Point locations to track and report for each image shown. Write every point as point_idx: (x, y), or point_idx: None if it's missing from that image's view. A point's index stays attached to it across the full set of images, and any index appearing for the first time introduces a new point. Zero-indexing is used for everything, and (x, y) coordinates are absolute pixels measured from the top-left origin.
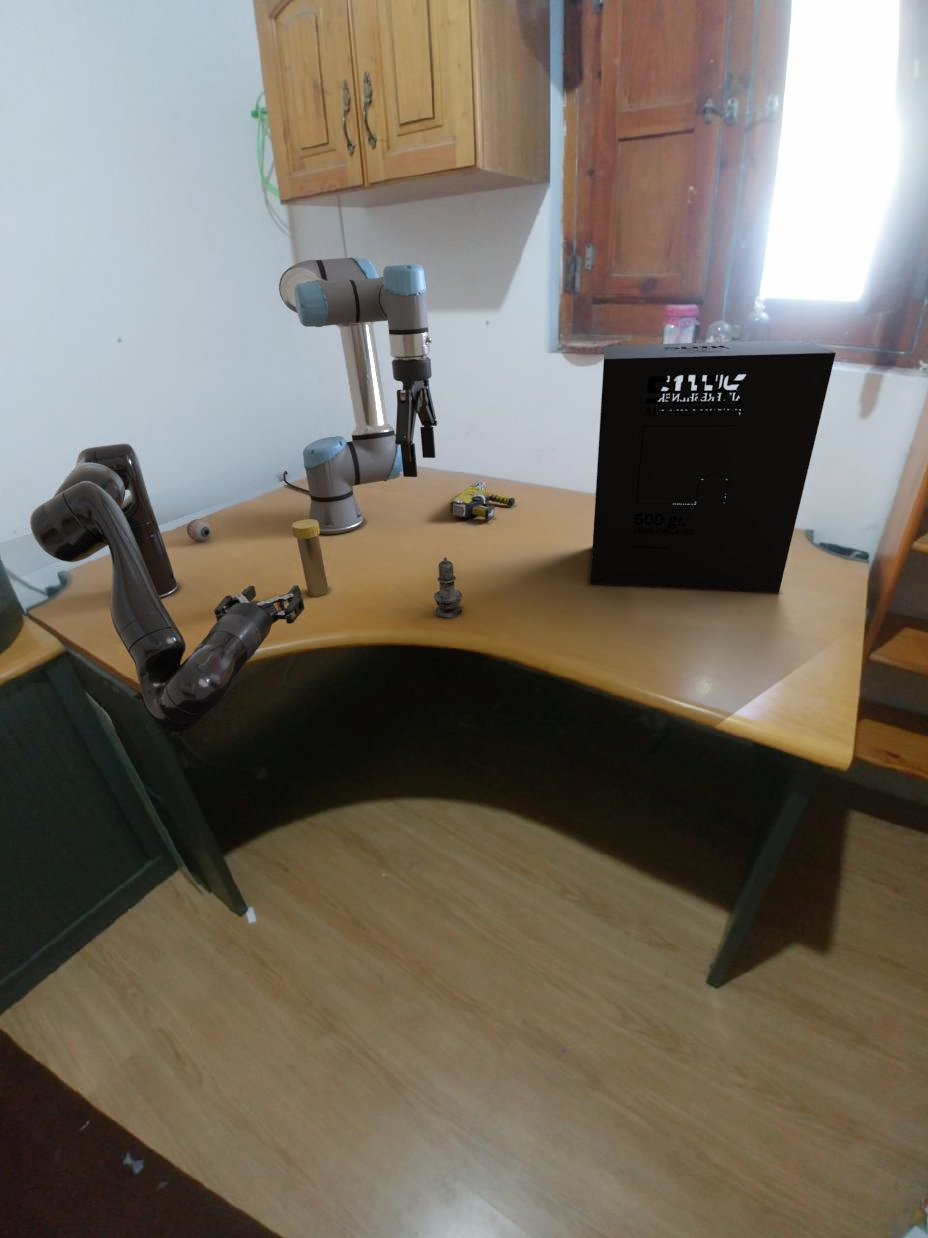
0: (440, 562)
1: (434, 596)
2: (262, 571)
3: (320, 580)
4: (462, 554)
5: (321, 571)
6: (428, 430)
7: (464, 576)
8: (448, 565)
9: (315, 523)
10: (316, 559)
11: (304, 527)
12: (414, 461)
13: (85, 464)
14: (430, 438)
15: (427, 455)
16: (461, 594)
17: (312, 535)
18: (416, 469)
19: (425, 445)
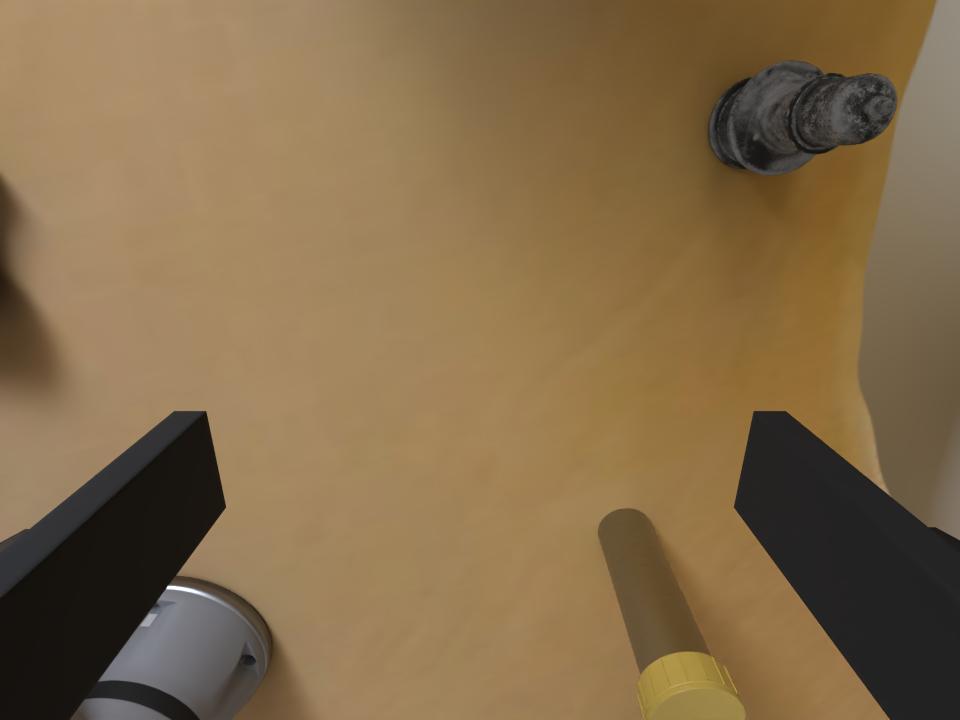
0: (863, 134)
1: (789, 168)
2: (519, 684)
3: (655, 542)
4: (307, 188)
5: (655, 556)
6: (9, 664)
7: (487, 134)
8: (893, 88)
9: (697, 694)
10: (678, 592)
11: (737, 711)
12: (882, 494)
13: None
14: (90, 557)
15: (209, 480)
16: (781, 65)
17: (719, 664)
18: (799, 441)
19: (157, 554)
